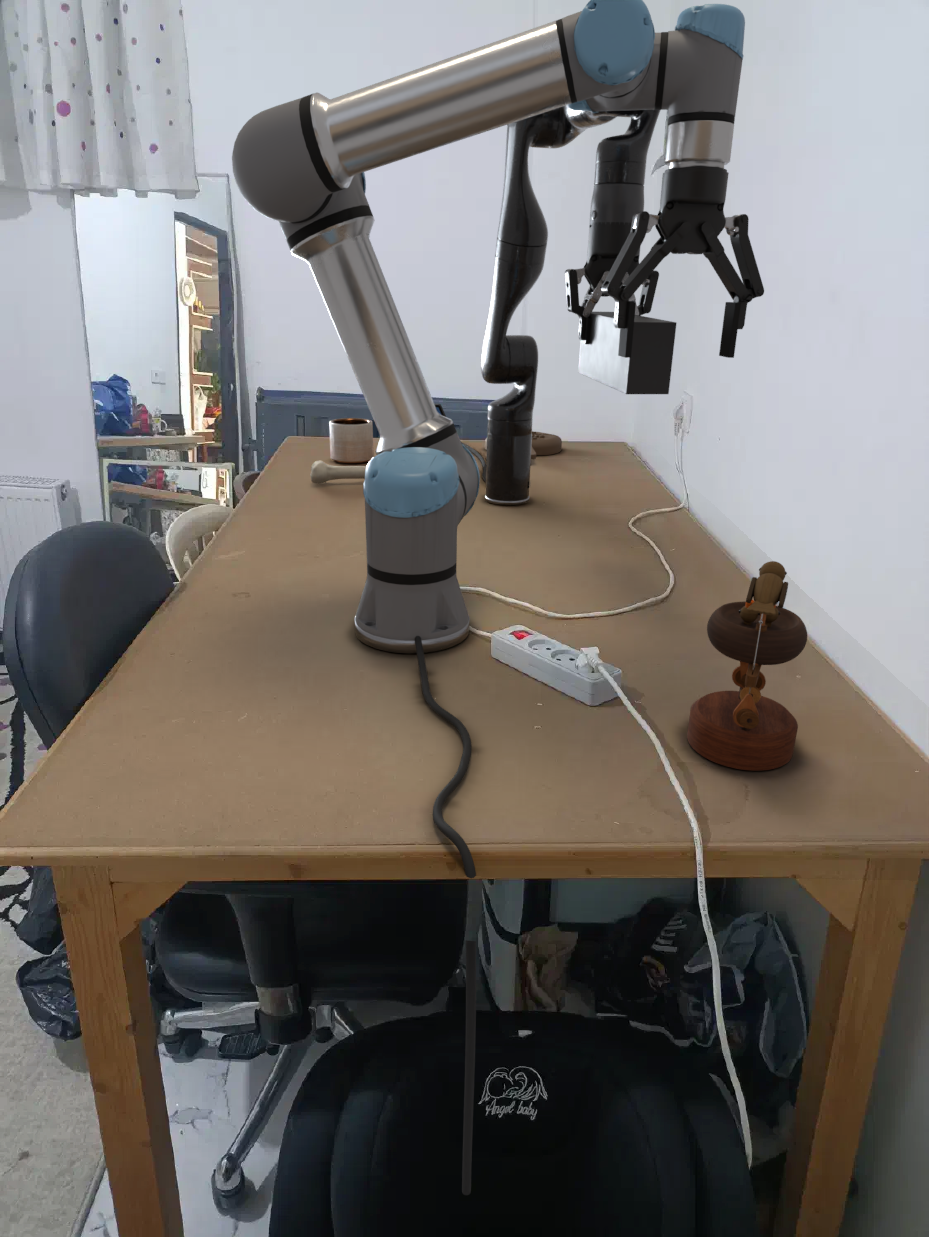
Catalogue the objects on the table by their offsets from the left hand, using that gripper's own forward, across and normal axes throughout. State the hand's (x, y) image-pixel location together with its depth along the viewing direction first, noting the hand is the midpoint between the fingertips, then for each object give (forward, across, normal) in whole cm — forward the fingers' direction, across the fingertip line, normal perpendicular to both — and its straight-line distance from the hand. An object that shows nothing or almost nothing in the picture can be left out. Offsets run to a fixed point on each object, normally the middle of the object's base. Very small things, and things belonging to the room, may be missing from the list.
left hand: (675, 357), depth 107 cm
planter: (+35, +38, -109) cm, 121 cm away
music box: (+35, +4, +35) cm, 50 cm away
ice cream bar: (+35, -8, -113) cm, 118 cm away
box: (+5, +2, -15) cm, 16 cm away
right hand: (0, +2, -23) cm, 23 cm away
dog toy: (+35, +38, -84) cm, 98 cm away
